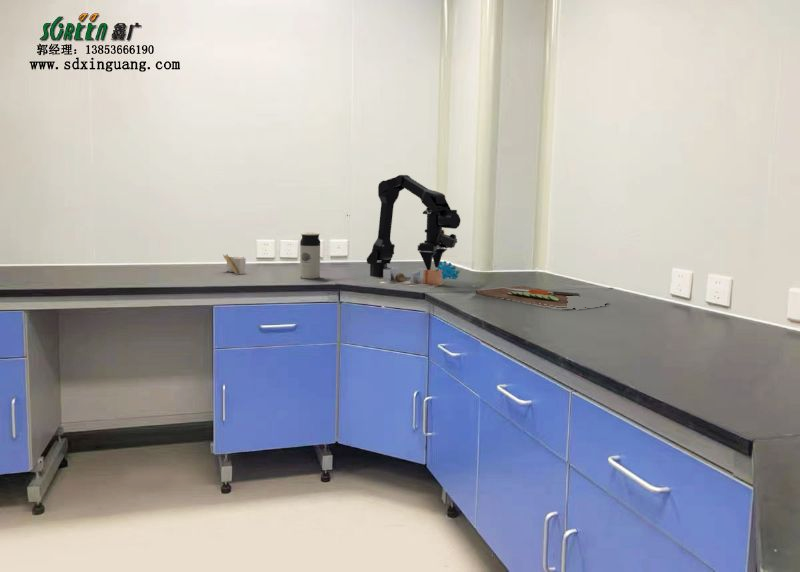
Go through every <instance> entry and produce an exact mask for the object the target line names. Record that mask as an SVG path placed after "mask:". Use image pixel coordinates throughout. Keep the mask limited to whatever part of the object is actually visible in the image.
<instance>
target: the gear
mask: <svg viewBox="0 0 800 572" xmlns="http://www.w3.org/2000/svg"><path fill="white" fill-rule="evenodd" d="M447 262H448V261H445V260H443V262H442V261H440V263H439V267H436V270H442V279H445V280H446V279H448V280H457V278H458V277H459V274H460V272H461V270H460V269H458V270H456V269H457V268H456V265H454V266H452V263H451V262H448V263H447Z"/></svg>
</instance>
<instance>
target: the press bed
mask: <svg viewBox="0 0 800 572" xmlns="http://www.w3.org/2000/svg"><path fill="white" fill-rule="evenodd" d="M379 284H388V285H396V286H397V285H398V286H411V287H423V288H432V289H434V288H437V287H439V286H441V285H444V282H443V281H442V284H440V285H438V286H436V285H431V284H423V283H421V282H417V283H415V284H414V283H410V279H407V278H405V279H404V281H403V282H398V281H395V282H389V283H384V282H383V281H381V282H379Z"/></svg>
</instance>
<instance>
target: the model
mask: <svg viewBox="0 0 800 572" xmlns="http://www.w3.org/2000/svg"><path fill="white" fill-rule="evenodd" d="M222 256H223V258H224V259H225V261H226V272H230V273H235V274H239V275H244V274H246V272H247V271H246V270H247V269H246V268H247V267H246V266H247V265H246V260H247V259H246V257H245V256H240V255H239V256H229V255H228V254H226V255H225V254H222Z"/></svg>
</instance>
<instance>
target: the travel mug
mask: <svg viewBox="0 0 800 572" xmlns="http://www.w3.org/2000/svg"><path fill="white" fill-rule="evenodd" d="M300 235H301V239H300V242H299V248H300V249H299V250H300V251H299V277H300V278H302V279H304V280H305V279H308V280H310V279H311V280H313V279H315V278H316V279H319V278H321V240H320V238H319V237H320V233H319V232H301V233H300Z"/></svg>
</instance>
